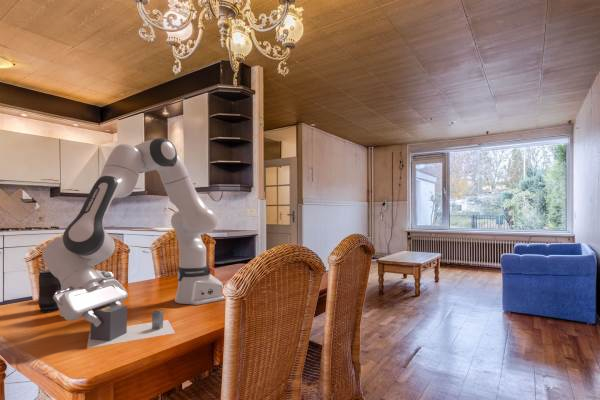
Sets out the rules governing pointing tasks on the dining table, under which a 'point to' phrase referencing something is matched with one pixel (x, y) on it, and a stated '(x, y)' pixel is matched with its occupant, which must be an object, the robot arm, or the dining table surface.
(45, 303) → the camera lens
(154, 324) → the d shaft
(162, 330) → the workboard
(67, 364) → the dining table surface
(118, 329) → the block
